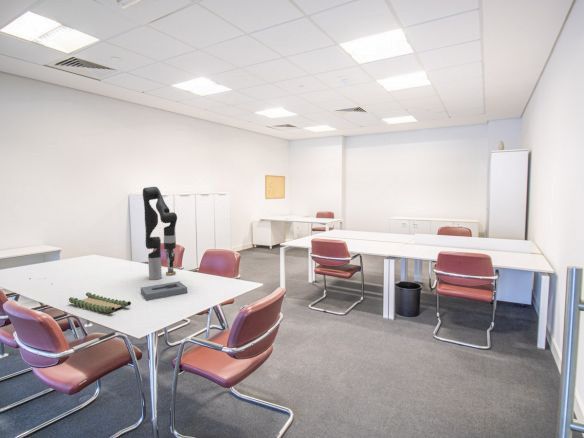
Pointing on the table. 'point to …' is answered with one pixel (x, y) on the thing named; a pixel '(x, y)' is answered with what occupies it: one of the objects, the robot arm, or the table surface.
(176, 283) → the keyhole plate
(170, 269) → the steel peg
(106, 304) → the stretcher
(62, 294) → the table surface
